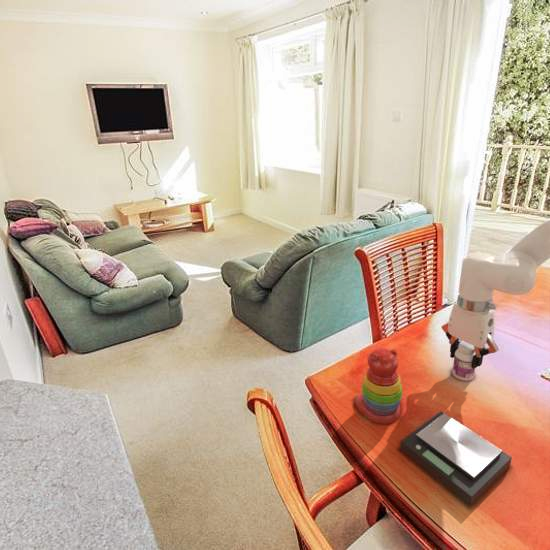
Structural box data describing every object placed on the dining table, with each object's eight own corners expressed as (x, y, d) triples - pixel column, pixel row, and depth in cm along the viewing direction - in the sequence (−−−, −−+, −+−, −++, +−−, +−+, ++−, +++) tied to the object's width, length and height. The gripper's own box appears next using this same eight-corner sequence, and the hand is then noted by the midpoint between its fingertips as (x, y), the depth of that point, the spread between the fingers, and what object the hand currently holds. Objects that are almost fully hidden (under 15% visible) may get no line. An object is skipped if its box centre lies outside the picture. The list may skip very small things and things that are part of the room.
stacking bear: (391, 391, 99) (394, 335, 92) (410, 420, 90) (416, 359, 82) (352, 399, 97) (352, 342, 90) (368, 429, 88) (369, 368, 81)
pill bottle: (452, 367, 106) (456, 338, 102) (473, 371, 104) (478, 341, 100) (451, 378, 102) (455, 349, 98) (473, 383, 99) (478, 353, 95)
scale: (509, 467, 76) (512, 456, 75) (469, 507, 70) (472, 495, 68) (439, 420, 89) (440, 410, 87) (400, 450, 82) (400, 439, 81)
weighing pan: (502, 453, 76) (502, 450, 75) (473, 480, 71) (474, 477, 71) (444, 415, 86) (444, 412, 85) (415, 437, 81) (416, 434, 81)
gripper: (517, 309, 88) (505, 371, 96) (451, 286, 102) (444, 342, 109) (500, 320, 85) (488, 383, 92) (434, 294, 98) (428, 351, 106)
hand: (464, 360), depth 101 cm, fingers closed on pill bottle, 5 cm apart
